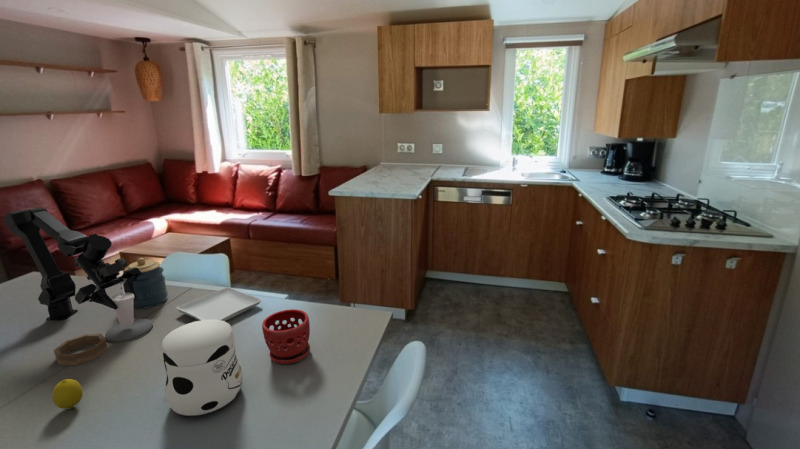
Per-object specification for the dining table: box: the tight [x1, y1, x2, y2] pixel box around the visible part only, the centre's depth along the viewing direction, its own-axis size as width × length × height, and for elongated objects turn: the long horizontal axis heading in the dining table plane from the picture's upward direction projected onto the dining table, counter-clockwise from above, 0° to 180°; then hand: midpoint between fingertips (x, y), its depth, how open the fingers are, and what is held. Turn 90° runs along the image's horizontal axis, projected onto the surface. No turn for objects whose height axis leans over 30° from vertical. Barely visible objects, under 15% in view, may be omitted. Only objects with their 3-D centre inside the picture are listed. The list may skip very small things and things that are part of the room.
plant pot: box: [261, 308, 311, 365], centre depth 117 cm, size 13×13×12 cm
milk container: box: [161, 319, 244, 417], centre depth 99 cm, size 17×17×18 cm
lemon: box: [52, 378, 83, 410], centre depth 97 cm, size 6×6×8 cm
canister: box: [123, 257, 169, 310], centre depth 150 cm, size 13×13×18 cm
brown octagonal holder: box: [53, 333, 109, 367], centre depth 120 cm, size 12×12×3 cm
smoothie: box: [110, 284, 135, 327], centre depth 129 cm, size 6×6×14 cm
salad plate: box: [175, 287, 262, 322], centre depth 145 cm, size 21×21×3 cm
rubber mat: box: [104, 318, 154, 343], centre depth 132 cm, size 13×13×1 cm
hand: (126, 304), depth 129 cm, fingers closed on smoothie, 6 cm apart
